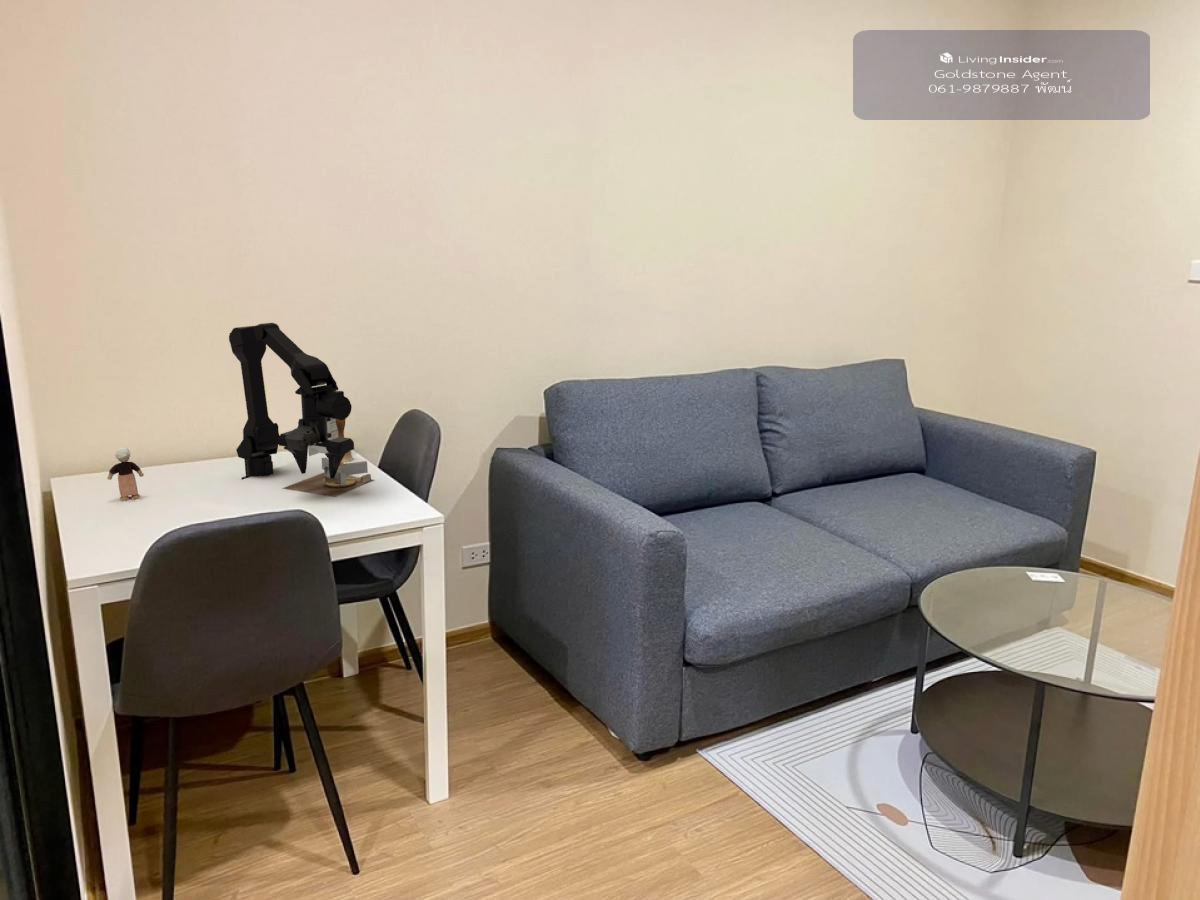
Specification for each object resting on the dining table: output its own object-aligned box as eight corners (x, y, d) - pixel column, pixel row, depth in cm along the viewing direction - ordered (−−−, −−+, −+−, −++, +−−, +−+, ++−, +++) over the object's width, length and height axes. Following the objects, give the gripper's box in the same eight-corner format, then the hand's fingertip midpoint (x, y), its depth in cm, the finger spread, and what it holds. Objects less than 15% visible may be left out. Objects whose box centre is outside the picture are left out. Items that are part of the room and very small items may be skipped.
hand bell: (333, 460, 260) (330, 405, 256) (362, 462, 260) (359, 406, 256) (322, 468, 252) (318, 411, 248) (351, 470, 252) (348, 412, 248)
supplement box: (307, 456, 264) (305, 413, 260) (322, 450, 271) (319, 408, 267) (330, 459, 262) (328, 415, 259) (344, 452, 269) (342, 410, 266)
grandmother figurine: (141, 493, 228) (136, 443, 224) (147, 497, 225) (141, 446, 222) (108, 499, 222) (101, 448, 219) (113, 503, 220) (107, 452, 217)
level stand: (282, 494, 230) (281, 482, 229) (324, 477, 244) (323, 466, 243) (335, 502, 224) (334, 490, 223) (375, 485, 238) (374, 474, 237)
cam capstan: (333, 493, 224) (332, 473, 223) (315, 476, 239) (313, 457, 237) (377, 487, 230) (377, 468, 229) (357, 471, 244) (356, 452, 243)
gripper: (260, 416, 220) (264, 479, 224) (324, 425, 213) (327, 489, 217) (292, 407, 230) (295, 467, 234) (354, 415, 223) (356, 477, 227)
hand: (317, 475), depth 228 cm, fingers open, 8 cm apart
